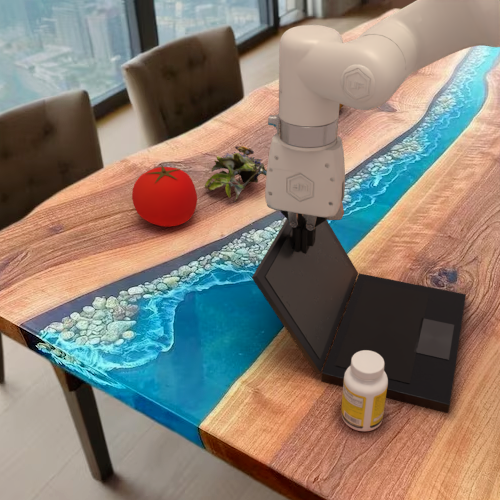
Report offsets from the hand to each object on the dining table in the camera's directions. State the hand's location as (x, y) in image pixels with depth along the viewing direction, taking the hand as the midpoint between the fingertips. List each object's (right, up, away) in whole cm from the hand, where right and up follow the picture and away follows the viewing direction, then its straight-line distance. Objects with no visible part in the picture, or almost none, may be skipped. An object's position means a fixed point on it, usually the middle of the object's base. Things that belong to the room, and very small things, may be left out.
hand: (303, 247), depth 92 cm
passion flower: (-10, +11, +40) cm, 42 cm away
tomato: (-23, +5, +31) cm, 40 cm away
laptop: (+14, -14, +3) cm, 20 cm away
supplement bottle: (+7, -22, -9) cm, 25 cm away
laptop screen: (+2, -4, +2) cm, 5 cm away
